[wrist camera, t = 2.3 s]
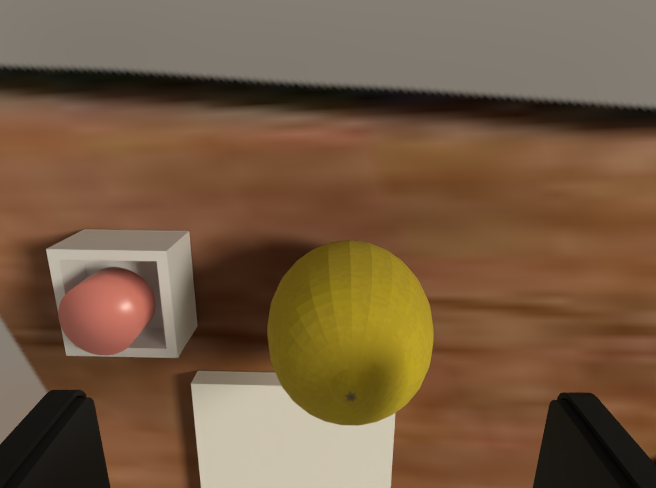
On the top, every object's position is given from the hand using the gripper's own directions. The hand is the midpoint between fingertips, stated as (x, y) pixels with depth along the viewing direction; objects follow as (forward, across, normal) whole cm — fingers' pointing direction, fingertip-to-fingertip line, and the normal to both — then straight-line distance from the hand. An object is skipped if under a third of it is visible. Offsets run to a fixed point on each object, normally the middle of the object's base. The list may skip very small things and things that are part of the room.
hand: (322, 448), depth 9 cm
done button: (+8, +8, +1) cm, 12 cm away
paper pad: (+10, +1, +10) cm, 14 cm away
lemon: (+11, -1, +1) cm, 11 cm away
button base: (+11, +8, +1) cm, 13 cm away
